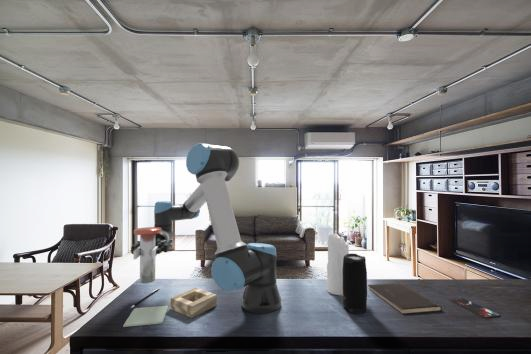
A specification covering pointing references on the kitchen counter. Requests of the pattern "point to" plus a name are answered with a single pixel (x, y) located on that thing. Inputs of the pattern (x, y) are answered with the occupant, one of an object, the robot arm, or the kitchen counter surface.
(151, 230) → the steel peg
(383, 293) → the hardcover book
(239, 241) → the robot arm
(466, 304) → the smartphone
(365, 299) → the portable speaker
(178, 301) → the block
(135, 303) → the pen
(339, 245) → the decorative vase
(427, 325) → the kitchen counter surface
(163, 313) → the sage pad
